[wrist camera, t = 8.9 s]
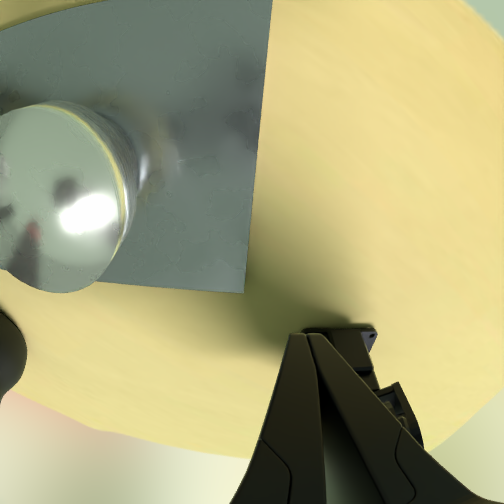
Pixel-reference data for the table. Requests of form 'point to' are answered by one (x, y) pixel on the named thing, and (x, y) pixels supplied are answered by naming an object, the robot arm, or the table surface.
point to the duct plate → (161, 121)
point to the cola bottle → (10, 355)
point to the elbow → (62, 195)
